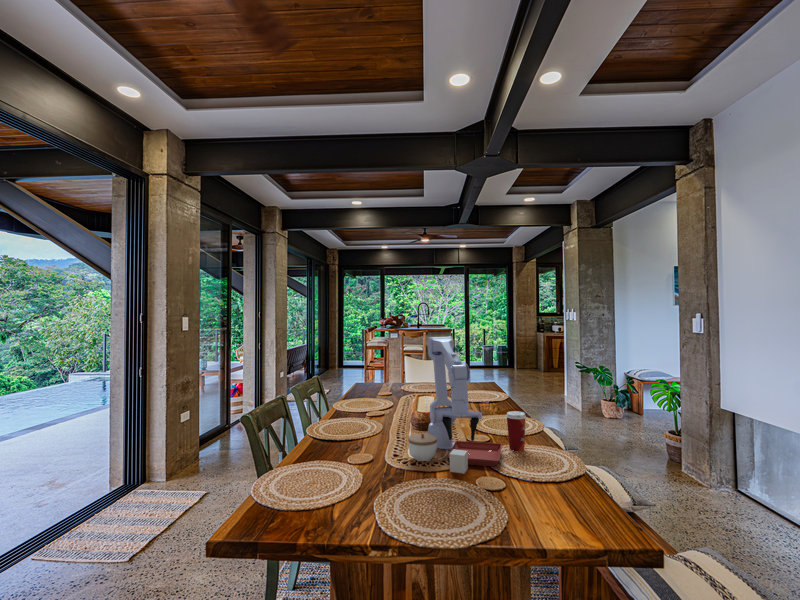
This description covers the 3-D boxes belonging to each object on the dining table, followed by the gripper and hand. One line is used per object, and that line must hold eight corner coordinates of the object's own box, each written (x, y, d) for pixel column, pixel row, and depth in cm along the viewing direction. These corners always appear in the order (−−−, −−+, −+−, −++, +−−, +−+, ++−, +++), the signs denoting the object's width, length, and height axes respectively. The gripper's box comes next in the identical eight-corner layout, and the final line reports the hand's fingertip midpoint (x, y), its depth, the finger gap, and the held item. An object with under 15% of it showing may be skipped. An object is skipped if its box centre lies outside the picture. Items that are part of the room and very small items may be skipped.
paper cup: (529, 452, 152) (528, 415, 152) (509, 452, 152) (508, 415, 153) (523, 445, 160) (522, 410, 160) (504, 445, 160) (503, 410, 160)
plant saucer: (447, 465, 142) (447, 455, 142) (455, 448, 159) (455, 440, 159) (499, 470, 137) (499, 460, 137) (502, 452, 154) (502, 443, 154)
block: (450, 471, 136) (449, 453, 136) (453, 466, 140) (453, 449, 140) (464, 473, 134) (464, 455, 134) (467, 468, 138) (467, 450, 138)
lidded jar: (427, 466, 140) (426, 439, 141) (402, 460, 147) (402, 434, 147) (443, 457, 149) (442, 432, 149) (419, 451, 155) (418, 427, 156)
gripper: (436, 400, 137) (438, 441, 136) (479, 401, 133) (481, 443, 131) (441, 397, 144) (442, 436, 143) (482, 398, 139) (484, 438, 138)
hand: (461, 439), depth 137 cm, fingers open, 7 cm apart
